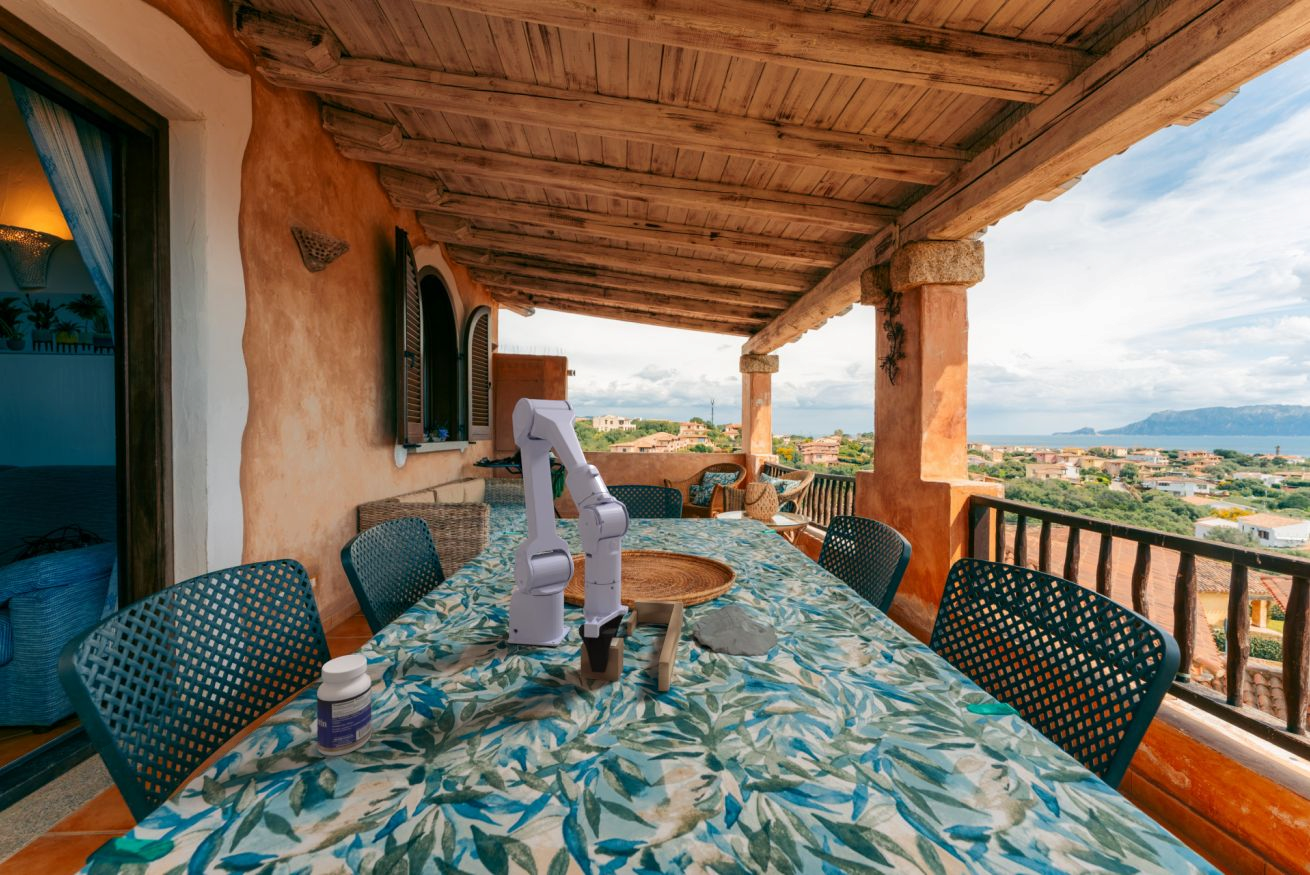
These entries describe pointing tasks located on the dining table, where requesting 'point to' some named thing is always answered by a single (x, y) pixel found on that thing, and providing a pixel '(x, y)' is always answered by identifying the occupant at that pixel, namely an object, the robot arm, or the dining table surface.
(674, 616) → the wooden bracket
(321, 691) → the pill bottle
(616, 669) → the cabinet block
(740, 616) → the stone
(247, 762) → the dining table surface
